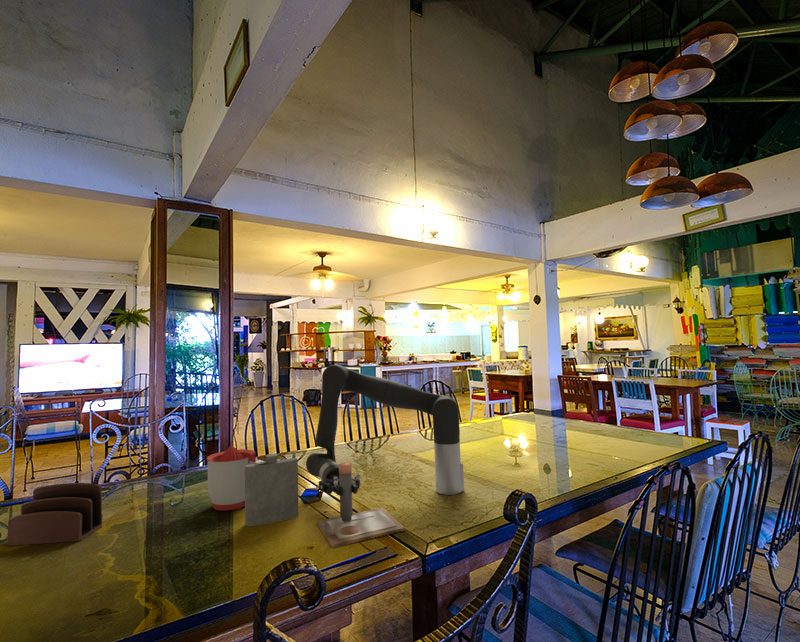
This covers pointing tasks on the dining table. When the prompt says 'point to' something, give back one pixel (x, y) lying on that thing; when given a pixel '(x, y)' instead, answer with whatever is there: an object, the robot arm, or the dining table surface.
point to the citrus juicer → (228, 477)
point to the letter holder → (57, 515)
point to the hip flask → (271, 491)
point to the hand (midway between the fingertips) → (348, 491)
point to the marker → (346, 491)
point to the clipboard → (359, 527)
